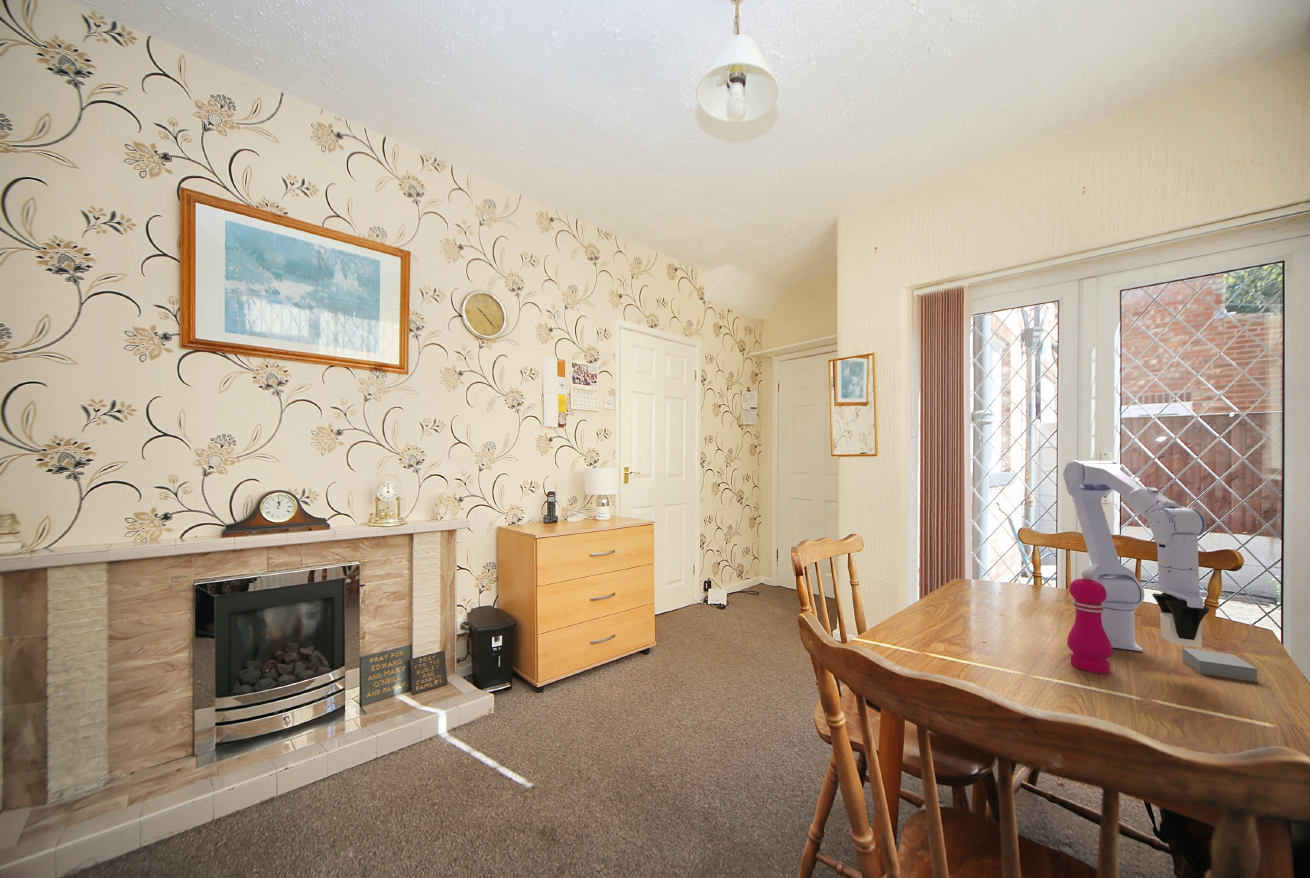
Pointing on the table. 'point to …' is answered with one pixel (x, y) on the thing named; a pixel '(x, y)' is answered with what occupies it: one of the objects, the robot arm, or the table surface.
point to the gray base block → (1219, 664)
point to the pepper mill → (1089, 626)
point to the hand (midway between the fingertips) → (1180, 634)
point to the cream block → (1171, 634)
